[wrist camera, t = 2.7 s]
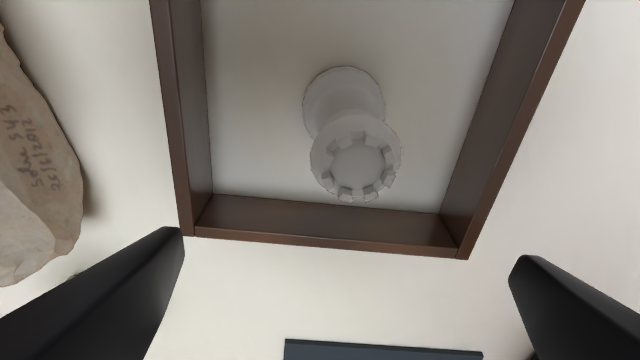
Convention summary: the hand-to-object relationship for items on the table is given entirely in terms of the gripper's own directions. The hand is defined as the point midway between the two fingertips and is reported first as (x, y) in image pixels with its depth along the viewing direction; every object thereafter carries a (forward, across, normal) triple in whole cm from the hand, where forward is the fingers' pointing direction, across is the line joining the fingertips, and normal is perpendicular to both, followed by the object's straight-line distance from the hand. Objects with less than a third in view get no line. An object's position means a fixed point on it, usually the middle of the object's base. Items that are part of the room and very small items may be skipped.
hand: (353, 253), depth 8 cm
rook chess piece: (+11, 0, -1) cm, 11 cm away
